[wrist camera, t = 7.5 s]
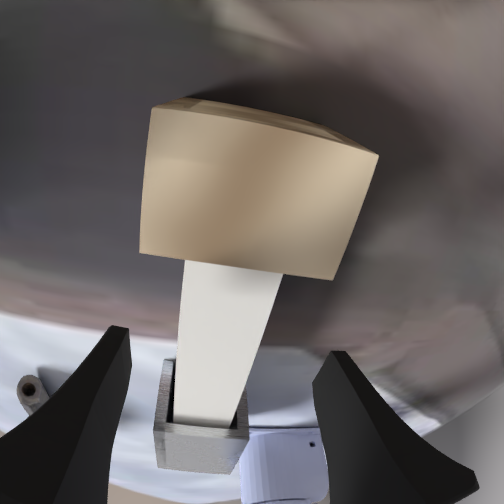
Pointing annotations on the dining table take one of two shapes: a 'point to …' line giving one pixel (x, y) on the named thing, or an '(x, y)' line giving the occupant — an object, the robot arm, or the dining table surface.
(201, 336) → the long white bar
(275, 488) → the robot arm
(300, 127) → the socket
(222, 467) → the sleeve
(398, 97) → the dining table surface
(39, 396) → the pipe
